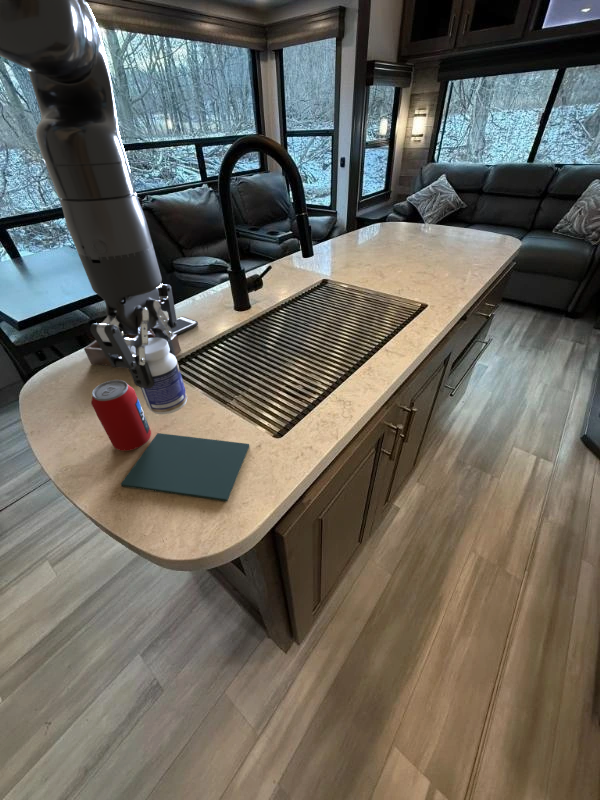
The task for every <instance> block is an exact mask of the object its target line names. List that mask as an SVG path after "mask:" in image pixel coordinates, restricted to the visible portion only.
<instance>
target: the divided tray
mask: <svg viewBox="0 0 600 800" xmlns="http://www.w3.org/2000/svg"><path fill="white" fill-rule="evenodd" d="M126 335H127V337H128V338H130V339H137V338H138V335H129V334H127V333H126ZM148 338H156V337H154V336H153V335H152V334H151V333H148ZM171 340H172V344H173V347H174V351H175V356H176V357H177V355H178V354H179V353H180V352H181V351H182V349H181V346H180V342H179V338H178V335H172V337H171ZM131 347H132V346H131ZM83 350H84V352H85V355H86V356H87V358H88V361H89V363H90V365H95V366H96V365H97V366H106V367H107V366H108V367H112V365H111V364H110V362H109V360H108V359H107V357H106V356H105V354H104V352H103V351H102V349H101V347H100V346H99V344H98V342H97V341H96V339H94V340H93V341H92V342H91V343H89V344H88V345H87V346H85V347H84V348H83ZM118 356H119V357H121V356H120V355H118Z"/></svg>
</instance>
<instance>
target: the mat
mask: <svg viewBox="0 0 600 800" xmlns="http://www.w3.org/2000/svg"><path fill="white" fill-rule="evenodd" d="M249 448H250V443H246V442H237V441H228V440H219V439H212V438H211V439H210V438H203V437H194V436H187V435H179V434H178V435H177V434H169V433H163V432H161V433H160V432H157V433H156V434H155V436H154V437H153V439H152V440H151V441H150V442H149V444H148V445H147V447H146V448H145V450H144V451H143V452H142V453H141V455H140V457H139V458H138V459H137V461H136V462H135V463H134V465H133V466H132V468H131V469H130V471H129V472H128V473H127V474H126V476H125V477H124V478H123V480H122V481H121V482H120V486H121V487H124V488H130V489H137V490H144V491H150V492H158V493H165V494H171V495H179V496H185V497H190V498H191V497H192V498H198V499H199V498H200V499H205V500H214V501H220V502H227V503H228V500H229V498H230V495H231V493H232V491H233V488H234V486H235V483H236V481H237V478H238V476H239V473H240V471H241V468H242V465H243V463H244V460H245V459H246V456H247V453H248V450H249Z"/></svg>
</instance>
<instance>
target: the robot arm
mask: <svg viewBox="0 0 600 800" xmlns="http://www.w3.org/2000/svg"><path fill="white" fill-rule="evenodd" d="M0 57H1V58H3V59H5V60H6V61H9V62H11V63H13V64H14V65H17V66H19V67H21V68H23V69H25V70H27V72H28V76H29V78H30V82H31V86H32V88H33V91H34V95H35V97H36V98H35V99H36V101H37V105H38V109H39V112H40V116H41V119H40V121H39V122H38V124H37V125H36V131H35V136H36V140H37V145H38V148H39V151H40V154H41V156H42V159H43V162H44V165H45V167H46V169H47V172H48V174H49V176H50V177H49V178H50V180H51V182H52V183H53V187H54V190H55V192H56V194H57V197H58V198H59V203H60V205H61V209H62V212H63V217H64V220H65V224H66V227H67V230H68V232H69V234H70V237H71V240H72V242H73V245H74V247H75V249H76V251H77V254H78V257H79V259H80V262H81V265H82V267H83V269H84V271H85V275H86V276H87V279H88V281H89V284H90V286H91V289H92V291H93V292H94V293H95V294H96V295H98V296H99V297H101V298H102V300H103V301H104V303H105V310H106V311H105V313H106V318H104V320H103V321H102V322H101V323H92V324H91V325H90V328H89V329H90V332H91V334H92V337H94V340H96V341H97V342H98V344H99V346H100V347H101V349H102V351H103V352H104V354H105V356H106V357H107V359H108V360H109V362H110V364H111V365H112V366H111V367H112V368H115V369H116V368H117V369H119V368H121V369H128V370H129V373H130V375H131V378H132V380H133V383H134V385H135V386H136V387H138V388H140V389H141V388H152V387H153V386H154V384H155V383H154V380H153V377H152V374H151V371H150V369H149V366H148V363H147V362H146V358H145V346H147V345H148V331H150V333H151V334H152V335H153V336H154V337H156V338H163V339H165V340H167V342H168V345H169V348H170V351H169V353H171V354H173V355H174V356H175V351H174V347H173V344H172V340H171V337H172V335H173V333H172V328H176V327H177V319H176V318H177V313H176V308H175V303H174V296H173V289H172V286H171V285H170V284H166V283H165V284H163V282H162V281H163V279H162V274H161V271H160V267H159V262H158V259H157V256H156V252H155V248H154V244H153V241H152V237H151V232H150V229H149V225H148V222H147V219H146V216H145V213H144V211H143V208H142V206H141V203H140V200H139V197H138V194H137V191H136V190H137V189H136V187H135V183H134V179H133V176H132V173H131V169H130V165H129V162H128V158H127V154H126V152H125V148H124V145H123V143H122V139H121V135H120V131H119V125H118V117H117V109H116V103H115V97H114V90H113V85H112V79H111V74H110V67H109V65H108V64H109V63H108V59H107V58H108V57H107V54H106V51H105V47H104V43H103V40H102V36H101V33H100V30H99V26H98V23H97V22H96V18H95V16H94V14H93V12H92V9H91V8H90V6H89V4H88V2H87V0H0ZM165 312H166V313H167V315H168V316H166V314H165ZM167 317H168V318H167ZM126 333H127V334H129V335H138V338H137V339H130V338H128V337H127V335H126ZM131 346H134V347H135V349H136V355H132V353H131ZM118 355H120V356H121V357H119V356H118ZM175 357H176V358H177V355H176V356H175Z"/></svg>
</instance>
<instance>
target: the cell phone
mask: <svg viewBox="0 0 600 800" xmlns="http://www.w3.org/2000/svg"><path fill="white" fill-rule="evenodd" d="M176 319H177V327H176V328H172V333H173V335H177V336H178V335H180V334H182V333H185V332H186V331H189V330H191V329H193V328H194V327H197V326H199V322H198V321H197V320H194V319H191V318H189V317H186V316H183V315H182V316H179V317H176ZM148 333H150V331H148Z"/></svg>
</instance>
